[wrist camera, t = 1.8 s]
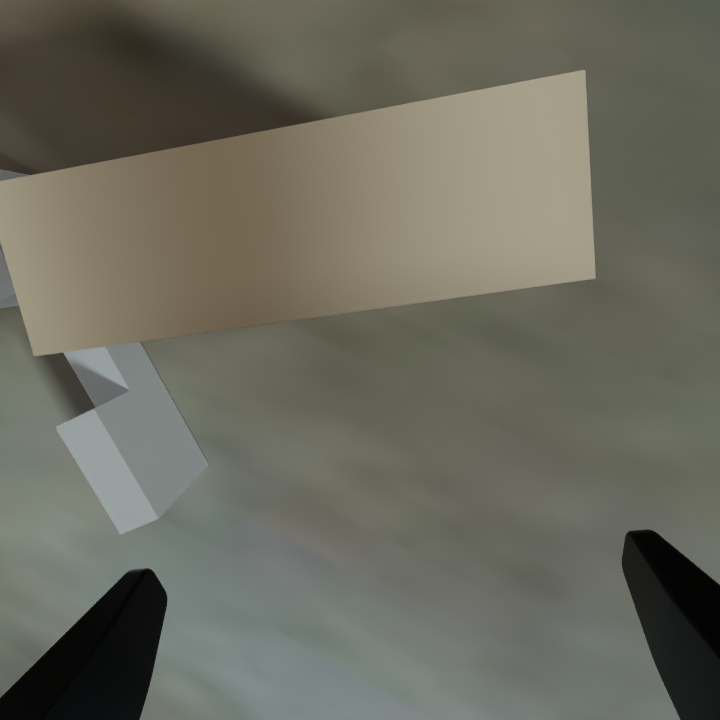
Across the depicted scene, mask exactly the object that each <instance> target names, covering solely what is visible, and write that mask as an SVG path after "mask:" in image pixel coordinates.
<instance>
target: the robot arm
mask: <svg viewBox="0 0 720 720" xmlns="http://www.w3.org/2000/svg"><path fill="white" fill-rule="evenodd" d="M622 568H623V573H624V576H625V579H626V582H627V584H628V587H629V590H630V593H631V596H632V599H633V602H634V605H635V608H636V611H637V614H638V616H639V619H640V622H641V625H642V628H643V631H644V634H645V637H646V640H647V643H648V645H649V648H650V651H651V654H652V657H653V659H654V662H655V665H656V667H657V669H658V672H659V674H660V676H661V679H662V681H663V683H664V685H665V687H666V689H667V692H668V694H669V696H670V698H671V700H672V702H673V705H674V707H675V709H676V711H677V713H678V715H679V718H680V720H720V585H719V584H718V583H717V582H716V581H714V580H713V579H712V578H711V577H710V576H708V575H707V574H706V573H705V572H703V571H702V570H701V569H700V568H699V567H697V566H696V565H695V564H694V563H693V562H691V561H690V560H689V559H688V558H687V557H685V556H684V555H683V554H682V553H680V552H679V551H678V550H677V549H676V548H674V547H673V546H672V545H671V544H670V543H668V542H667V541H666V540H665V539H663V538H662V537H661V536H660V535H659V534H657V533H656V532H654V531H652V530H635V531H629V532H628V533H627V534H626V536H625V542H624V549H623V555H622ZM166 607H167V594H166V591H165V589H164V588H163V586H162V585H161V583H160V581H159V580H158V578H157V576H156V575H155V573H154V572H153V571H152V570H151V569H148V568H146V569H134V570H131V571H129V572H127V573H126V574H125V575H124V576H123V577H122V578H121V579H120V580H119V581H118V582H117V583H116V584H115V585H114V586H113V587H112V588H111V589H110V590H109V591H108V592H107V593H106V594H105V595H104V596H103V597H102V598H101V599H100V600H99V601H98V602H97V603H96V604H95V605H94V606H93V607H91V608H90V609H89V610H88V611H87V612H86V613H85V614H84V615H83V616H82V617H81V618H80V619H79V620H78V621H77V622H76V623H75V624H74V625H73V626H72V627H71V628H70V629H69V630H68V631H67V632H66V633H65V634H64V635H63V636H62V637H61V638H60V639H59V640H58V641H57V642H56V643H55V644H54V645H53V646H52V647H51V648H50V649H49V650H48V651H47V652H46V653H45V654H44V655H43V656H42V657H41V658H40V659H39V660H38V661H37V662H36V663H35V664H34V665H33V666H32V667H31V668H30V669H29V670H28V671H27V672H26V673H25V674H24V675H23V676H22V677H21V678H20V679H19V680H18V681H17V682H16V683H15V684H14V685H13V686H12V687H11V688H10V689H9V690H8V691H7V692H6V693H5V694H4V695H3V696H2V697H1V698H0V720H139V719H140V716H141V713H142V709H143V706H144V703H145V700H146V696H147V693H148V689H149V686H150V681H151V677H152V673H153V668H154V664H155V659H156V654H157V650H158V645H159V640H160V635H161V631H162V626H163V621H164V616H165V612H166Z"/></svg>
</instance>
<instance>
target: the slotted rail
mask: <svg viewBox="0 0 720 720" xmlns="http://www.w3.org/2000/svg"><path fill="white" fill-rule="evenodd" d="M24 176H30V175H27V174H22V173H17V172H12V171H7V170H2V169H0V181H3V180H9V179H14V178H19V177H24ZM14 306H19V303H18V300H17V297H16V293H15V290H14V286H13V283H12V279H11V276H10V273H9V269H8V266H7V262H6V259H5V256H4V252H3V249H2V245H1V242H0V308H7V307H14ZM63 353H64V355H65V357H66V358H67V360H68V362H69V364H70V365H71V367H72V369H73V370H74V372H75V374H76V375H77V377H78V379H79V380H80V382H81V384H82V386H83V387H84V389H85V391H86V392H87V394H88V396H89V397H90V399H91V401H92V403H93V404H94V406H95V408H93V409H91V410H89V411H87V412H85V413H83V414H81V415H79V416H77V417H75V418H73V419H71V420H69V421H67V422H65V423H63V424H61V425H59V426H57V427H55V428H56V430H57V431H58V433H59V434H60V436H61V438H62V439H63V441H64V443H65V444H66V446H67V448H68V449H69V451H70V453H71V454H72V456H73V457H74V459H75V461H76V462H77V464H78V466H79V467H80V469H81V471H82V472H83V474H84V476H85V477H86V479H87V480H88V482H89V484H90V485H91V487H92V489H93V490H94V492H95V494H96V495H97V497H98V499H99V500H100V502H101V504H102V505H103V507H104V508H105V510H106V512H107V513H108V515H109V517H110V518H111V520H112V522H113V523H114V525H115V527H116V528H117V530H118V531H119V533H120V535H121V534H123V533H126V532H128V531H130V530H133V529H135V528H138V527H140V526H142V525H145V524H147V523H150V522H152V521H154V520H157V519H159V518H160V517H161V516H162V515H163V514H164V512H165V511H166V510H167V509H168V508H169V507H170V506H171V505H172V504H173V503H174V502H175V501H176V500H177V498H178V497H179V496H180V495H181V494H182V493H183V492H184V491H185V490H186V489H187V488H188V487H189V486H190V484H191V483H192V482H193V481H194V480H195V479H196V478H197V477H198V476H199V475H200V474H201V473H202V472H203V470H204V469H205V468H206V467H207V466H208V463H207V461H206V459H205V458H204V456H203V454H202V452H201V451H200V449H199V447H198V445H197V443H196V442H195V440H194V438H193V436H192V434H191V433H190V431H189V429H188V427H187V425H186V424H185V422H184V420H183V418H182V417H181V415H180V413H179V411H178V409H177V408H176V406H175V404H174V402H173V400H172V399H171V397H170V395H169V393H168V391H167V390H166V388H165V386H164V384H163V383H162V381H161V379H160V377H159V375H158V374H157V372H156V370H155V368H154V366H153V365H152V363H151V361H150V359H149V357H148V356H147V354H146V352H145V350H144V349H143V347H142V345H141V343H140V342H135V343H127V344H120V345H113V346H106V347H99V348H91V349H84V350H77V351H70V352H63Z"/></svg>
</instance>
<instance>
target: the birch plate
mask: <svg viewBox="0 0 720 720" xmlns="http://www.w3.org/2000/svg"><path fill="white" fill-rule="evenodd" d="M0 242H1V245H2V249H3V252H4V256H5V259H6V262H7V266H8V269H9V273H10V276H11V279H12V283H13V286H14V290H15V293H16V297H17V300H18V303H19V307H20V310H21V314H22V317H23V320H24V324H25V327H26V331H27V334H28V338H29V341H30V344H31V348H32V351H33V355H34V356H41V355H48V354H55V353H63V352H70V351H77V350H84V349H91V348H99V347H106V346H113V345H120V344H127V343H135V342H142V341H149V340H156V339H163V338H171V337H178V336H185V335H192V334H199V333H207V332H214V331H221V330H228V329H235V328H243V327H250V326H257V325H264V324H271V323H278V322H286V321H293V320H300V319H307V318H314V317H322V316H329V315H336V314H343V313H350V312H358V311H365V310H372V309H379V308H386V307H394V306H401V305H408V304H415V303H422V302H430V301H437V300H444V299H451V298H458V297H466V296H473V295H480V294H487V293H494V292H502V291H509V290H516V289H523V288H530V287H537V286H545V285H552V284H559V283H566V282H573V281H581V280H588V279H595V258H594V238H593V217H592V197H591V177H590V157H589V137H588V117H587V96H586V76H585V70H581V71H576V72H571V73H565V74H560V75H555V76H550V77H544V78H539V79H534V80H529V81H523V82H518V83H513V84H508V85H502V86H497V87H492V88H487V89H481V90H476V91H471V92H466V93H460V94H455V95H450V96H445V97H439V98H434V99H429V100H424V101H418V102H413V103H408V104H403V105H397V106H392V107H387V108H382V109H376V110H371V111H366V112H361V113H355V114H350V115H345V116H340V117H334V118H329V119H324V120H319V121H313V122H308V123H303V124H298V125H292V126H287V127H282V128H277V129H271V130H266V131H261V132H255V133H250V134H245V135H240V136H234V137H229V138H224V139H219V140H213V141H208V142H203V143H198V144H192V145H187V146H182V147H177V148H171V149H166V150H161V151H156V152H150V153H145V154H140V155H135V156H129V157H124V158H119V159H114V160H108V161H103V162H98V163H93V164H87V165H82V166H77V167H72V168H66V169H61V170H56V171H51V172H45V173H40V174H35V175H30V176H24V177H19V178H14V179H9V180H3V181H0Z"/></svg>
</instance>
